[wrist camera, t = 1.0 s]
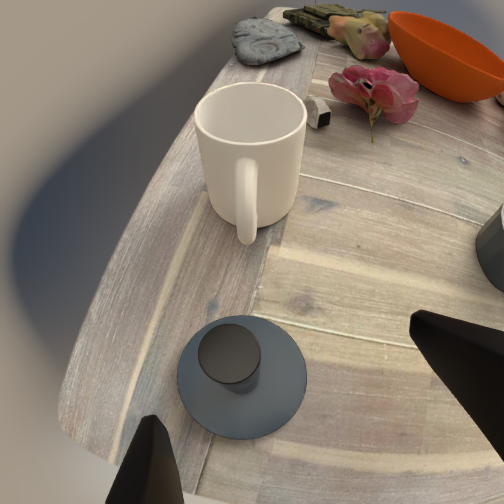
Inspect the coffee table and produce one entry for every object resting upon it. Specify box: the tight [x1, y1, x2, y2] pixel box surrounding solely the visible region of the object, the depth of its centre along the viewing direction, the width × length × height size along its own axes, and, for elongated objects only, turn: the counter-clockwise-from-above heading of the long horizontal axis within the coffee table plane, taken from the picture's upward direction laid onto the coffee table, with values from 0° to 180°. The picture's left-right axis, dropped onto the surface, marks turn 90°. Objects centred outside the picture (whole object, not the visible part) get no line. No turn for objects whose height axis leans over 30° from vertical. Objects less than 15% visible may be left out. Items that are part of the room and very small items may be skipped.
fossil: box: [231, 17, 305, 65], centre depth 45 cm, size 13×18×4 cm
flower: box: [329, 65, 419, 143], centre depth 33 cm, size 11×10×10 cm
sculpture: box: [327, 11, 391, 59], centre depth 44 cm, size 15×8×10 cm
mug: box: [194, 82, 307, 245], centre depth 25 cm, size 12×8×10 cm
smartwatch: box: [304, 96, 332, 129], centre depth 34 cm, size 4×2×4 cm, turn 29°
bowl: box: [388, 11, 504, 103], centre depth 39 cm, size 25×25×10 cm
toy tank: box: [283, 4, 386, 39], centre depth 50 cm, size 14×28×10 cm, turn 121°
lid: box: [177, 315, 307, 440], centre depth 17 cm, size 9×9×11 cm
